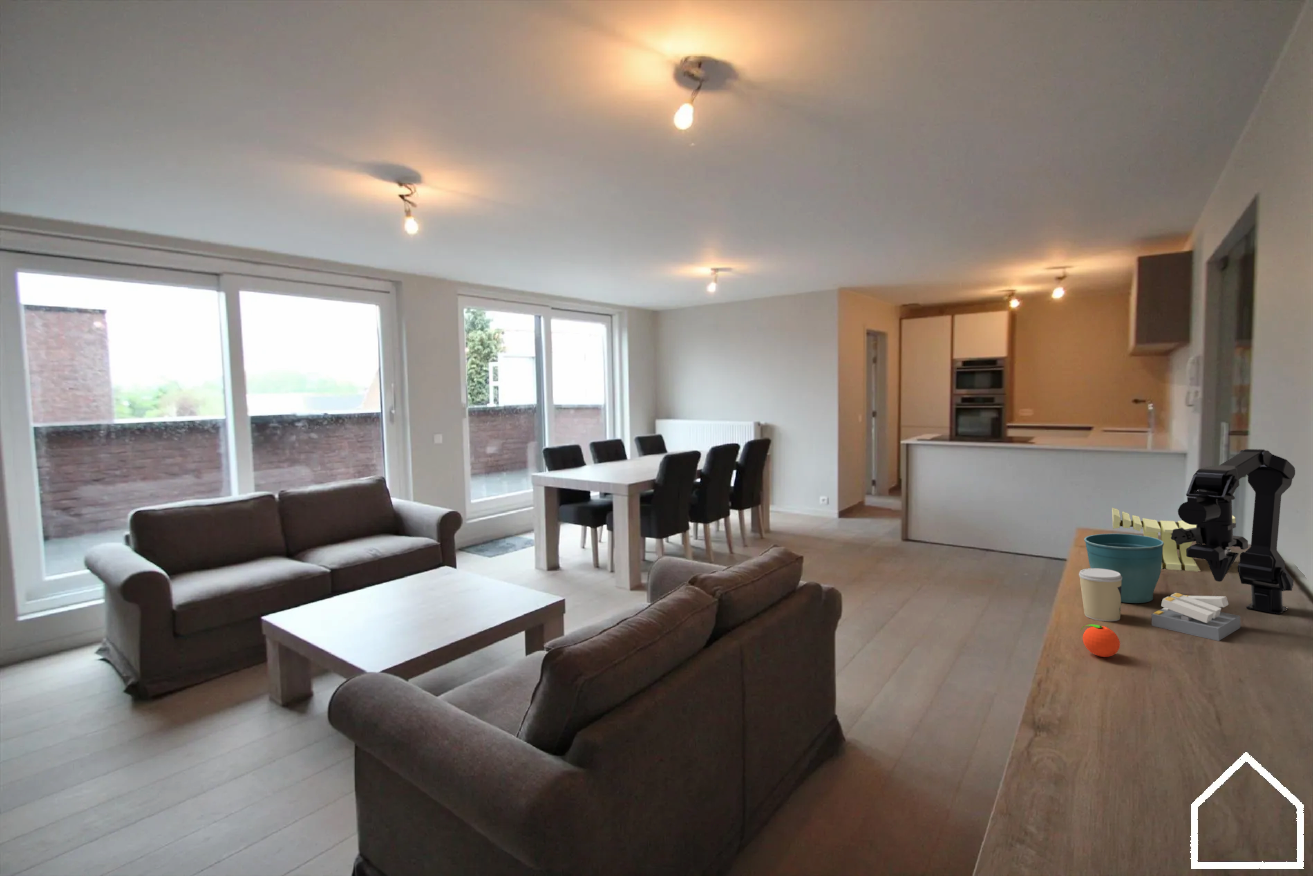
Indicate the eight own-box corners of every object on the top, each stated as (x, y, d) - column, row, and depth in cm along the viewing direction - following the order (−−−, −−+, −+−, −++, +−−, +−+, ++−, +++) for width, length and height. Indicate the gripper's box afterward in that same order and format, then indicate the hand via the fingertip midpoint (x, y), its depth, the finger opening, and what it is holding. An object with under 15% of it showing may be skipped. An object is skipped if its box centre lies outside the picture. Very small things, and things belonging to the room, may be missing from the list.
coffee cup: (1131, 622, 154) (1129, 577, 153) (1091, 622, 156) (1089, 578, 155) (1112, 610, 163) (1110, 567, 163) (1074, 610, 165) (1072, 568, 164)
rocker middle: (1174, 599, 153) (1176, 592, 152) (1219, 615, 145) (1221, 607, 145) (1169, 602, 151) (1170, 594, 151) (1214, 618, 144) (1216, 610, 143)
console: (1174, 613, 157) (1174, 599, 157) (1240, 627, 146) (1239, 611, 146) (1151, 625, 151) (1151, 610, 151) (1218, 641, 140) (1218, 624, 139)
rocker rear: (1184, 603, 155) (1181, 595, 155) (1228, 604, 147) (1225, 595, 147) (1179, 605, 153) (1176, 597, 154) (1223, 607, 146) (1221, 598, 146)
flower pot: (1097, 606, 167) (1094, 547, 166) (1079, 587, 183) (1076, 533, 183) (1177, 609, 160) (1175, 547, 159) (1151, 589, 177) (1148, 533, 176)
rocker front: (1166, 603, 151) (1168, 595, 150) (1211, 620, 143) (1213, 612, 143) (1161, 606, 149) (1162, 598, 149) (1206, 623, 142) (1208, 614, 141)
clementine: (1071, 652, 140) (1070, 623, 139) (1090, 645, 142) (1088, 617, 142) (1109, 664, 132) (1107, 633, 132) (1127, 657, 135) (1126, 627, 135)
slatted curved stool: (1227, 561, 196) (1225, 508, 196) (1237, 574, 184) (1235, 517, 183) (1114, 554, 214) (1111, 505, 214) (1115, 565, 201) (1113, 514, 201)
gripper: (1191, 510, 158) (1193, 567, 159) (1159, 521, 149) (1161, 581, 150) (1247, 515, 148) (1249, 576, 149) (1217, 526, 139) (1219, 591, 140)
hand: (1218, 581), depth 147 cm, fingers closed
